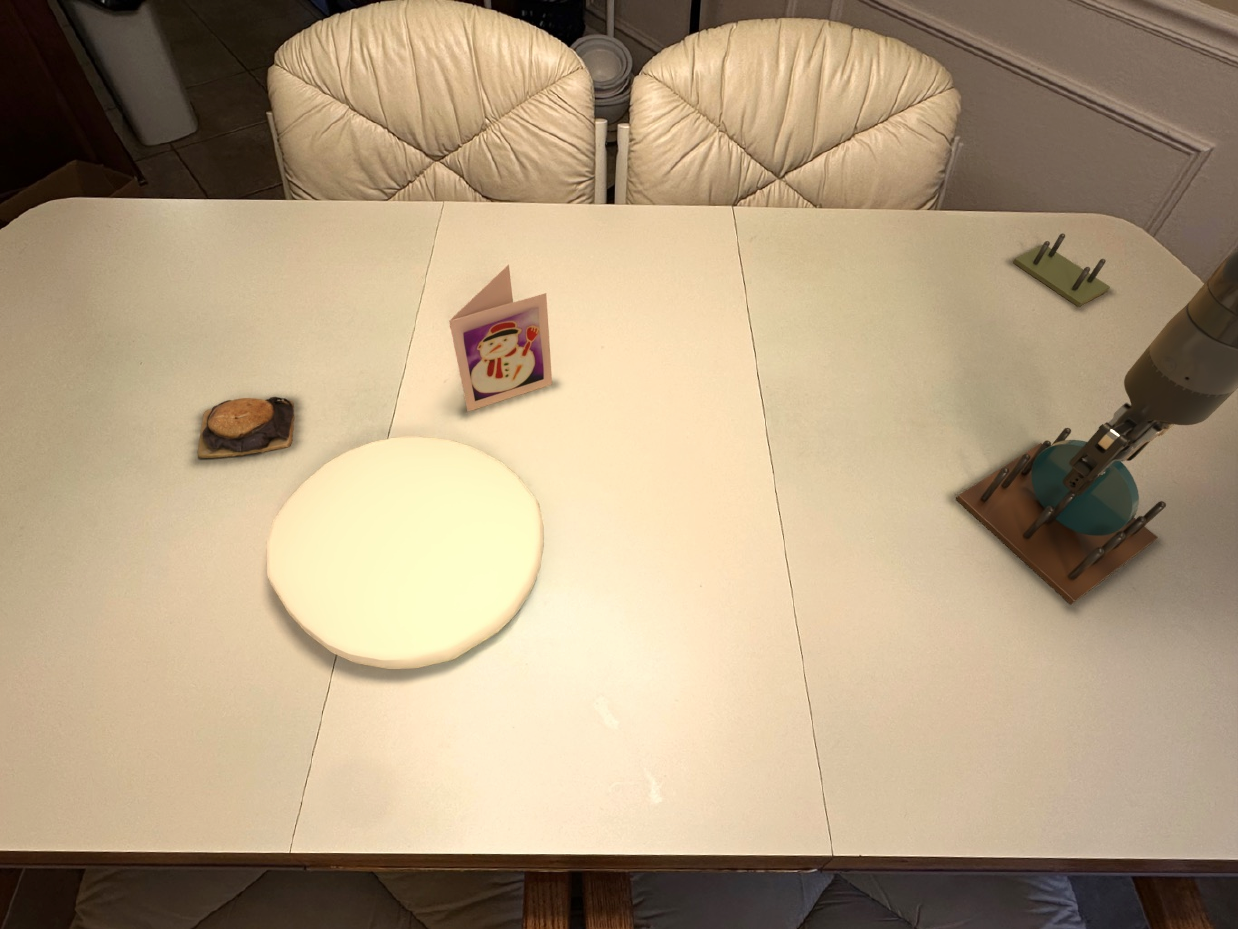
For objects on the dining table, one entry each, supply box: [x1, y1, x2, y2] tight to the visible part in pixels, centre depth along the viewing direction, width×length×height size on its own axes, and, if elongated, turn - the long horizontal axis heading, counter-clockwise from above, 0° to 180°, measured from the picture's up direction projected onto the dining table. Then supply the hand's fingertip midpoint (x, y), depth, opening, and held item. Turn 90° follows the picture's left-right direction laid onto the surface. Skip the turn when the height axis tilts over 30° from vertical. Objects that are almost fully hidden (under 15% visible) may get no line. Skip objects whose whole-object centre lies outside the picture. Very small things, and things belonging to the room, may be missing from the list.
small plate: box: [1031, 439, 1140, 536], centre depth 81 cm, size 1×11×11 cm, turn 33°
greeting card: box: [448, 264, 553, 412], centre depth 90 cm, size 11×7×15 cm, turn 116°
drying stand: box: [1012, 233, 1111, 308], centre depth 111 cm, size 7×12×5 cm, turn 33°
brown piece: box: [196, 396, 295, 459], centre depth 89 cm, size 11×8×4 cm
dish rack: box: [955, 427, 1167, 605], centre depth 83 cm, size 15×16×7 cm
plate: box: [265, 436, 545, 670], centre depth 78 cm, size 28×6×27 cm
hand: (1097, 470), depth 78 cm, fingers open, 8 cm apart
